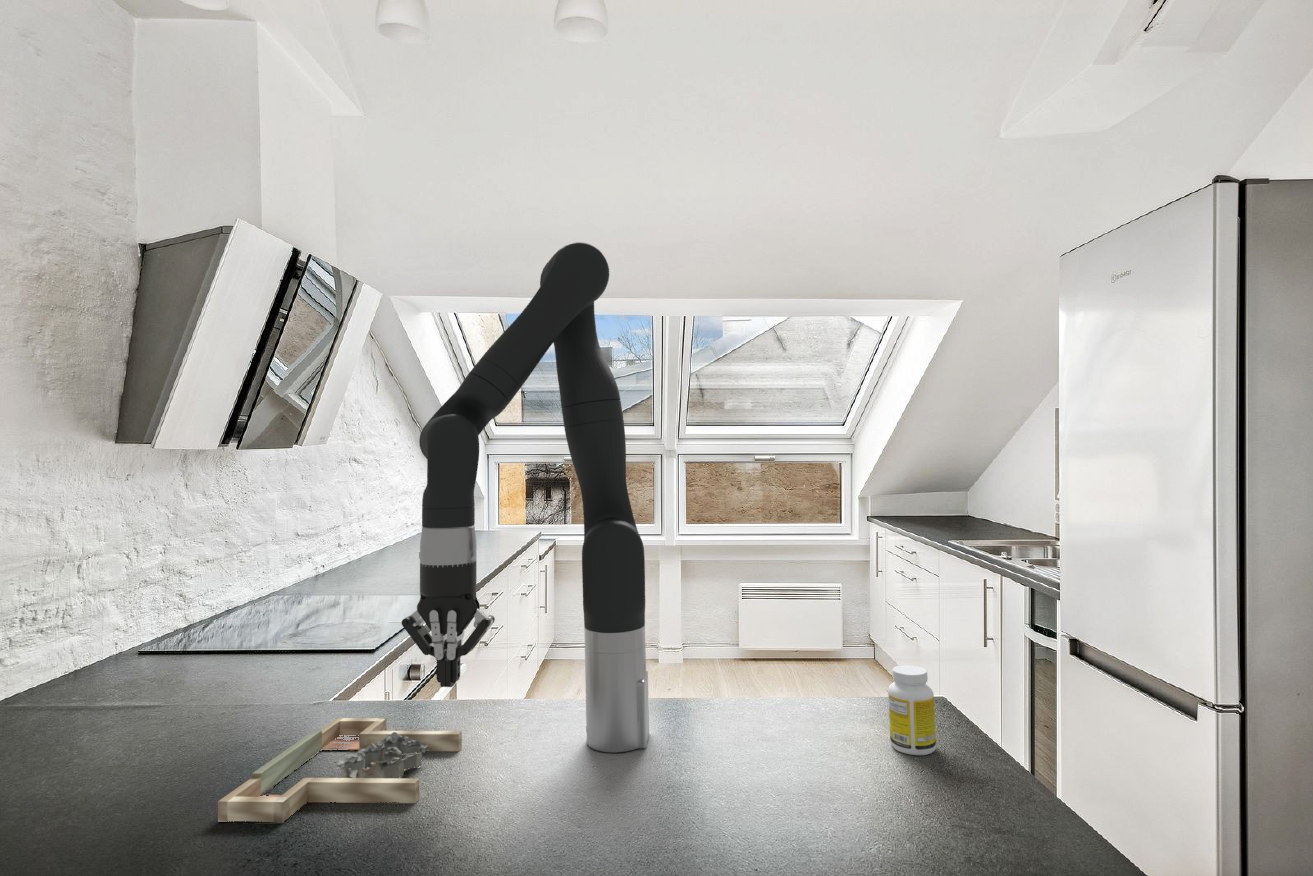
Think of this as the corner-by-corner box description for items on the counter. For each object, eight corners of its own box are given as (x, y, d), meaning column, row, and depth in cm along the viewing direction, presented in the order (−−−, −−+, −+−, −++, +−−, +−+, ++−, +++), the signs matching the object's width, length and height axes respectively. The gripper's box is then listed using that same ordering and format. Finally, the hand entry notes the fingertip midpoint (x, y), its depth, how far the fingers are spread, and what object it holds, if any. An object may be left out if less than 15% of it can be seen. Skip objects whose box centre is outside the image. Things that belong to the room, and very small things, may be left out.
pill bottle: (935, 741, 100) (932, 665, 100) (937, 759, 94) (934, 678, 94) (890, 736, 102) (887, 662, 102) (890, 754, 96) (887, 674, 96)
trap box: (473, 734, 106) (473, 715, 107) (397, 824, 80) (397, 798, 80) (336, 734, 108) (336, 715, 108) (217, 822, 82) (217, 797, 82)
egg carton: (368, 798, 87) (367, 766, 87) (330, 786, 91) (330, 755, 91) (432, 764, 97) (432, 735, 97) (396, 755, 100) (395, 726, 100)
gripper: (503, 555, 98) (503, 677, 97) (414, 555, 99) (413, 676, 98) (486, 563, 90) (486, 695, 90) (389, 562, 91) (389, 693, 91)
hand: (448, 685), depth 94 cm, fingers closed
